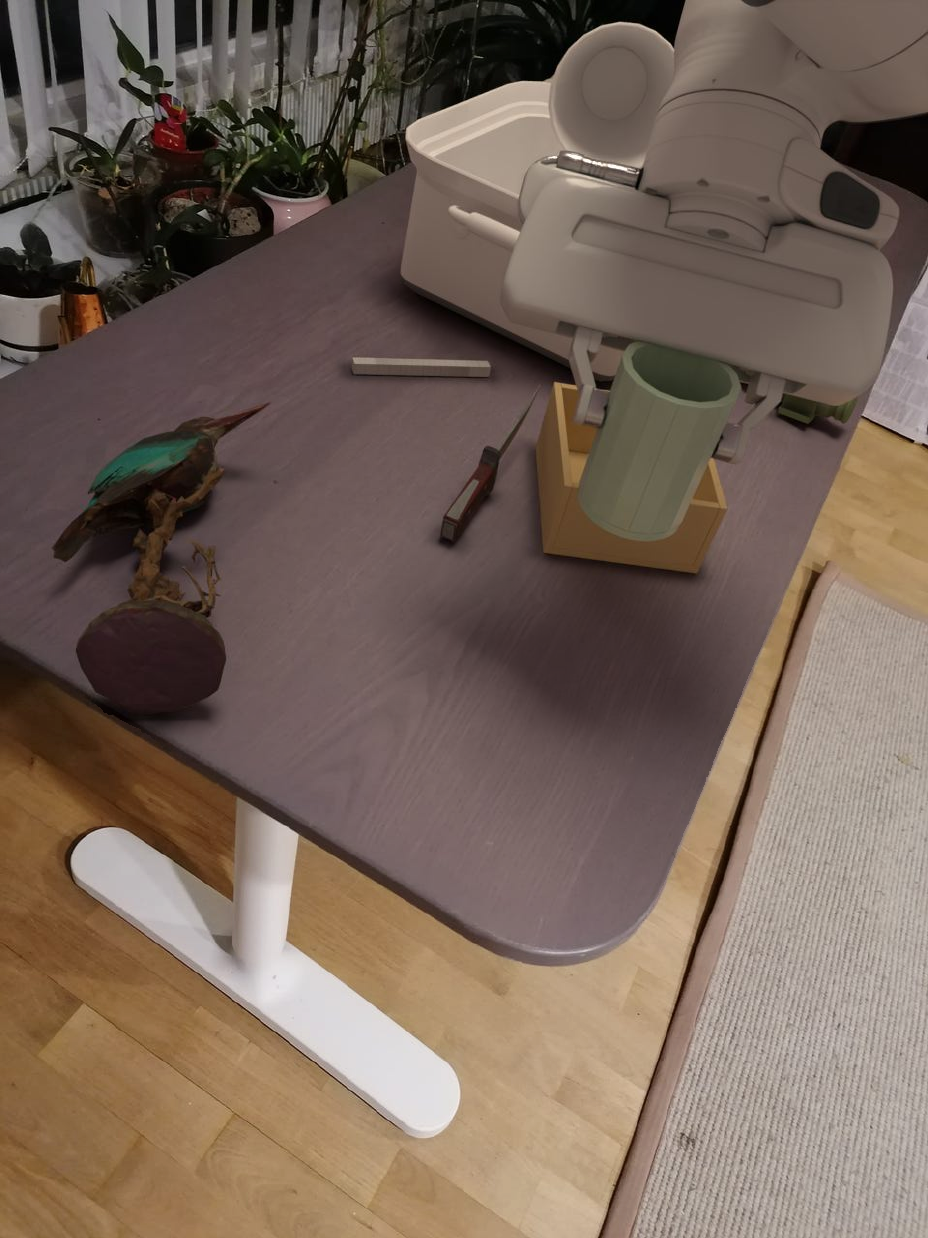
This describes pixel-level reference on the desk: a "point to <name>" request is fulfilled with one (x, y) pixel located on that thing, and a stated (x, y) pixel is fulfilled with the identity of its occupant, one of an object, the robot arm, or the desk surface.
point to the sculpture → (154, 573)
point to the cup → (611, 92)
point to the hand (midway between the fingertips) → (656, 442)
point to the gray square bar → (420, 367)
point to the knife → (479, 482)
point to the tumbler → (655, 440)
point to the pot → (480, 209)
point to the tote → (579, 536)
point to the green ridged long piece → (814, 409)
